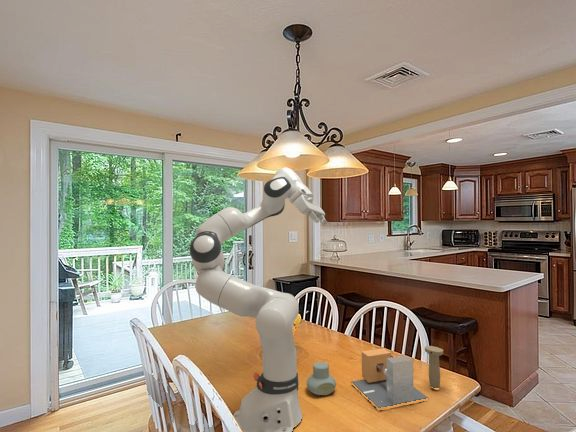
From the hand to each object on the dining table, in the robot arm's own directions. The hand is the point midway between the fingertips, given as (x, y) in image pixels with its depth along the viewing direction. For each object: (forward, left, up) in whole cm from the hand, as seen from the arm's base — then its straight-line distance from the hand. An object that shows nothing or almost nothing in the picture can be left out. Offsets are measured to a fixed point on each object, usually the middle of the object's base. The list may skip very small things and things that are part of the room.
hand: (322, 223), depth 133 cm
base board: (+18, -16, -63) cm, 68 cm away
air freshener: (-5, -8, -63) cm, 64 cm away
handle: (+36, -20, -63) cm, 75 cm away
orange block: (+18, -9, -61) cm, 64 cm away
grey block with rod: (+18, -18, -62) cm, 67 cm away
